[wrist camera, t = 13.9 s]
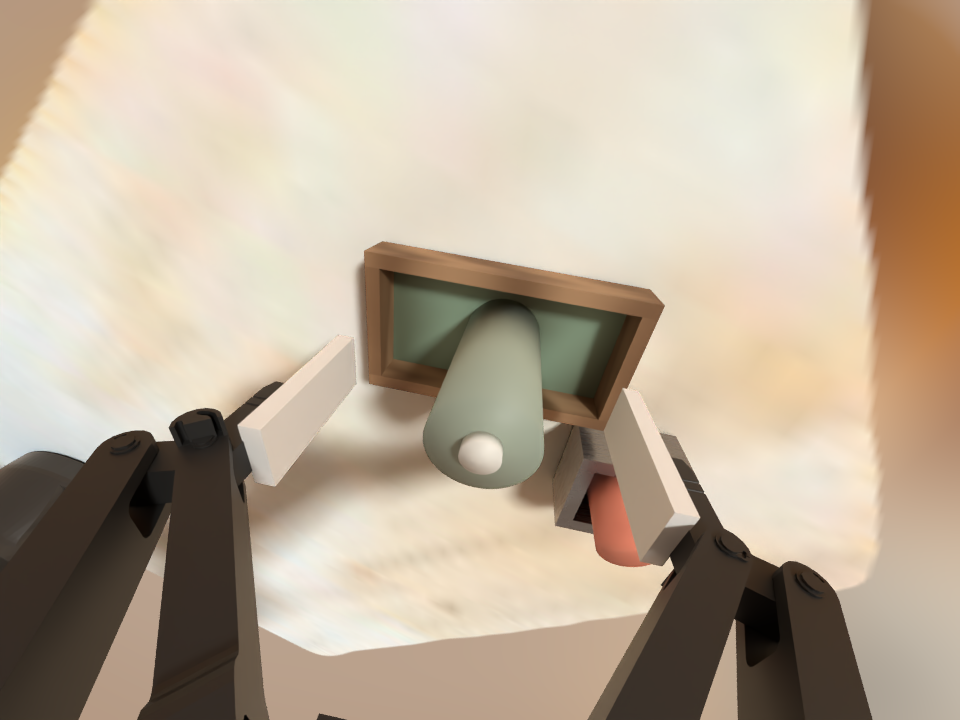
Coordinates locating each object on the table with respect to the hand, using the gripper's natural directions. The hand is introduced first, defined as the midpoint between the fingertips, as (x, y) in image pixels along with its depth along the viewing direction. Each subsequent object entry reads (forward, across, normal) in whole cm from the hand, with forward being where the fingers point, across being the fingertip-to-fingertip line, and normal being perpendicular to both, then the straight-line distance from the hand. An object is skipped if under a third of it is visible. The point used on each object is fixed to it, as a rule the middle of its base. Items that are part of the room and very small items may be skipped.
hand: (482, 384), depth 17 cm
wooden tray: (+6, 0, 0) cm, 6 cm away
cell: (+6, +1, 0) cm, 6 cm away
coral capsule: (+5, +10, -9) cm, 15 cm away
